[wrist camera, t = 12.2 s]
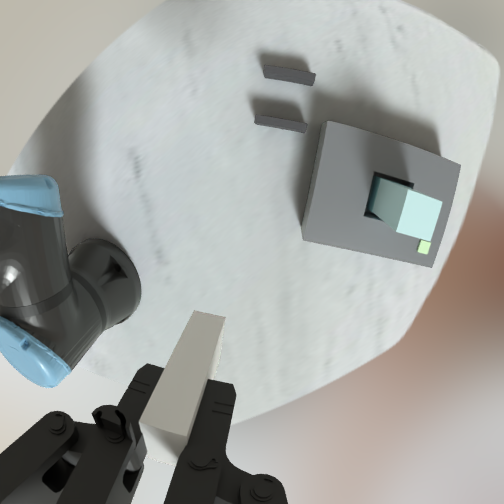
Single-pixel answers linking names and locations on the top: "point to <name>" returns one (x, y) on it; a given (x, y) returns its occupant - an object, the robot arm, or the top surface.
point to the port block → (358, 187)
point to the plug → (404, 208)
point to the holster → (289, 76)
